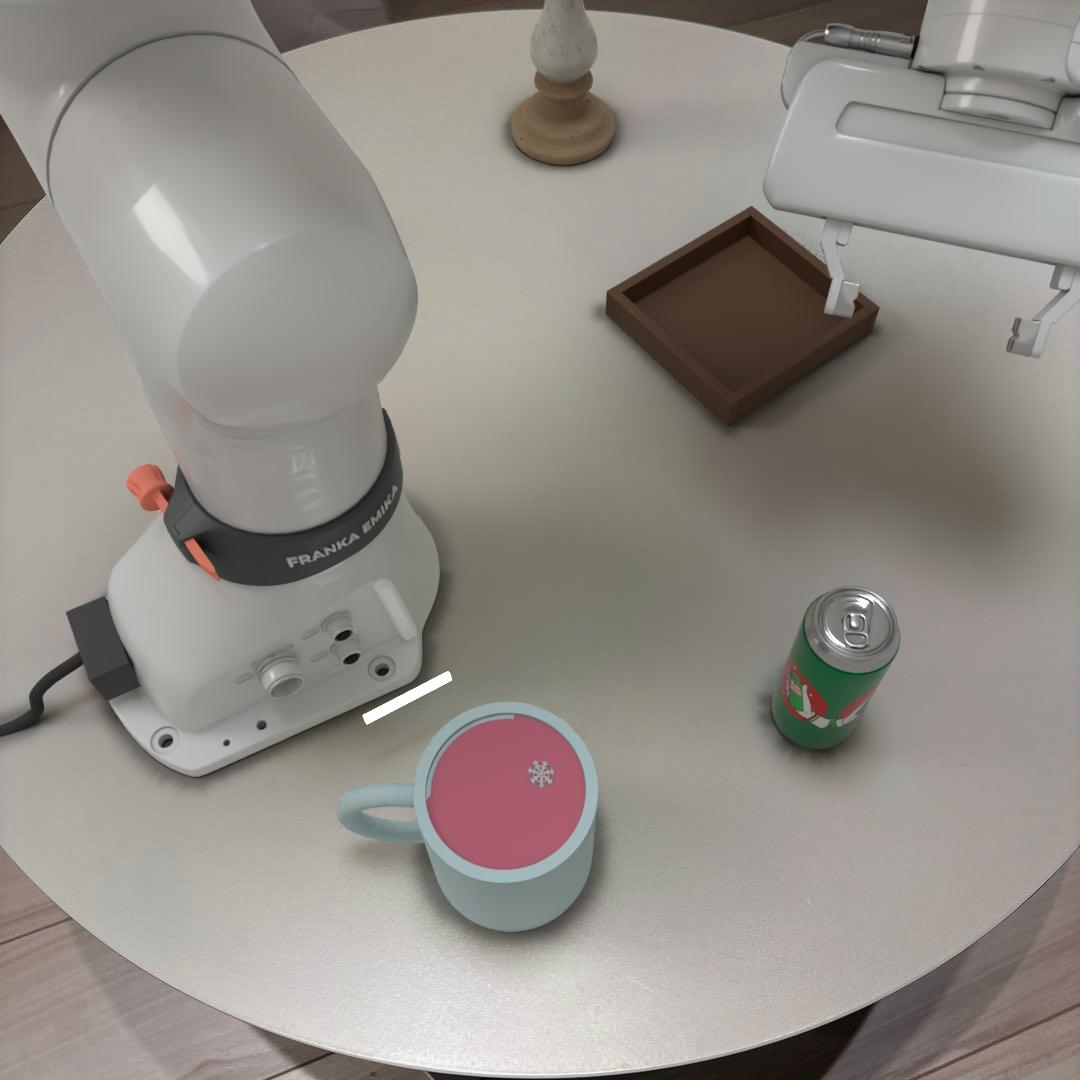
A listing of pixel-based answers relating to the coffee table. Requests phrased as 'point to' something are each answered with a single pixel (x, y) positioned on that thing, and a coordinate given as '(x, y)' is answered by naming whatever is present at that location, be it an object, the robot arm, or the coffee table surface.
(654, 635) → the coffee table surface
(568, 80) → the candle holder
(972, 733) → the coffee table surface
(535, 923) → the mug
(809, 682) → the soda can
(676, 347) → the tray
